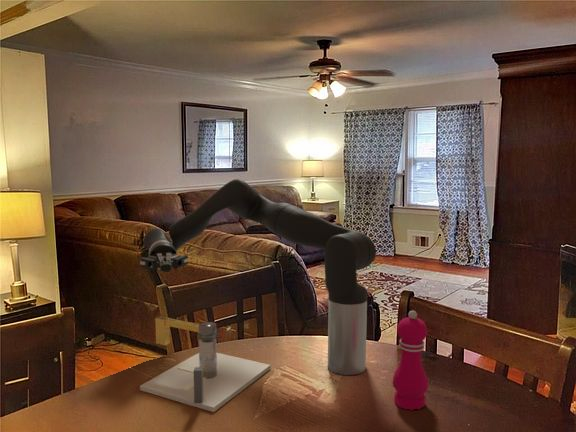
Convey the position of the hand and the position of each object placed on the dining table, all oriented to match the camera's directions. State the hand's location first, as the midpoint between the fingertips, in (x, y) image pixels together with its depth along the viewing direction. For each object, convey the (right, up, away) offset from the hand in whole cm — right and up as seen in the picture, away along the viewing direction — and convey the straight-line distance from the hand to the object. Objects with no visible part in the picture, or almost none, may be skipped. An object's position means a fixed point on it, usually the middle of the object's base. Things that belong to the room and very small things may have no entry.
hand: (166, 268), depth 123 cm
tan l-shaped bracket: (+6, -18, -6) cm, 20 cm away
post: (+12, -25, -9) cm, 29 cm away
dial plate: (+12, -25, -9) cm, 29 cm away
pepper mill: (+56, -26, -19) cm, 65 cm away
